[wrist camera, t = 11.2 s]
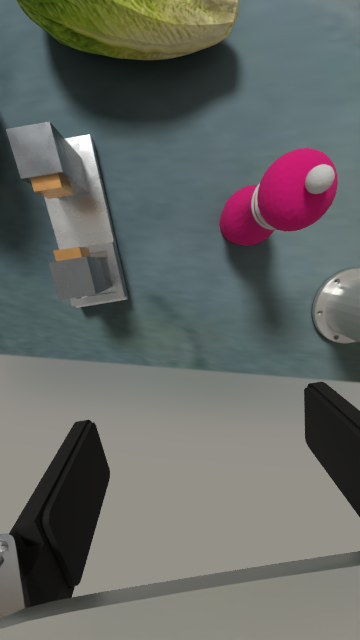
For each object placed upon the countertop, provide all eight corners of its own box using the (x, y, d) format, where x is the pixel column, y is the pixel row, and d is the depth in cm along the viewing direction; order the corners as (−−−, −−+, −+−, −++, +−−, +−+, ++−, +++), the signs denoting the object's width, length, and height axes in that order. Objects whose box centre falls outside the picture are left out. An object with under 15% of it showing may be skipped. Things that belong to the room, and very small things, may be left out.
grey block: (112, 286, 35) (95, 294, 27) (84, 291, 35) (59, 300, 27) (104, 248, 33) (83, 245, 25) (74, 253, 33) (44, 251, 25)
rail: (93, 140, 31) (60, 90, 22) (128, 297, 37) (114, 310, 28) (35, 150, 31) (-22, 104, 22) (80, 305, 37) (49, 321, 28)
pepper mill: (231, 256, 36) (303, 253, 16) (207, 215, 34) (254, 157, 15) (271, 229, 35) (397, 191, 15) (248, 185, 33) (357, 81, 14)
